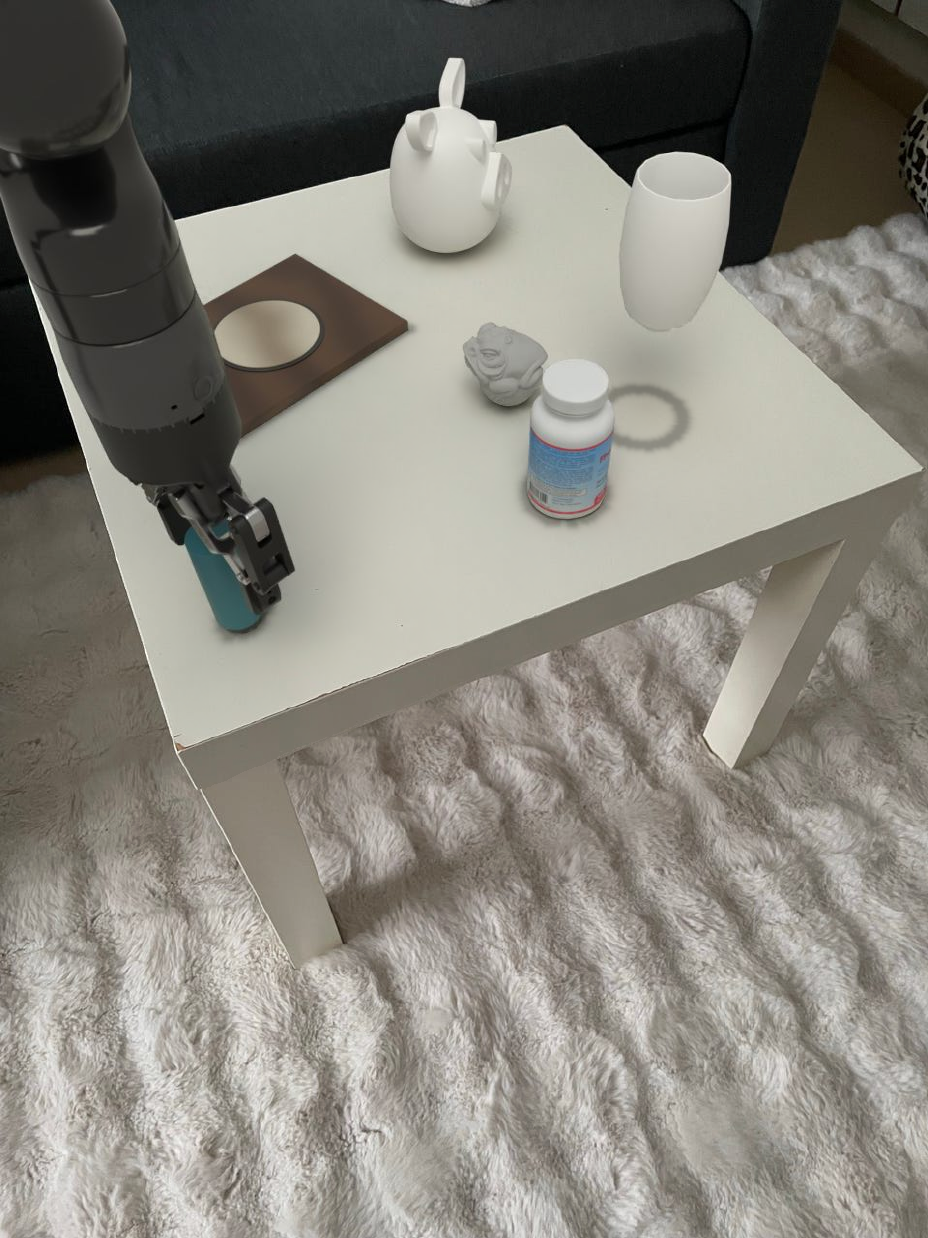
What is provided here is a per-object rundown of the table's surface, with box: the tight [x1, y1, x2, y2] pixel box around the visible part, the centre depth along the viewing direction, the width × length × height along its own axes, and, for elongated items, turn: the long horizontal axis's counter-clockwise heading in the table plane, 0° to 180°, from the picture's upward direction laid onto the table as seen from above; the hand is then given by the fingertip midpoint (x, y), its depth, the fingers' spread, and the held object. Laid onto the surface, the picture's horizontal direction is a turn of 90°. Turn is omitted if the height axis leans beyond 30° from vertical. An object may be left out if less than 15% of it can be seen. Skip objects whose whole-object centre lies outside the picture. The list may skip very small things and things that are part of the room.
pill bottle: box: [526, 358, 616, 520], centre depth 68 cm, size 6×6×11 cm
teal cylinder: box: [184, 518, 262, 634], centre depth 62 cm, size 3×3×9 cm
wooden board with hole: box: [203, 253, 409, 439], centre depth 84 cm, size 20×16×1 cm
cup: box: [618, 151, 732, 333], centre depth 69 cm, size 7×7×21 cm
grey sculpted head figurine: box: [462, 321, 549, 407], centre depth 76 cm, size 6×7×7 cm
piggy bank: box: [389, 57, 513, 254], centre depth 87 cm, size 12×12×15 cm
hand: (226, 570), depth 61 cm, fingers open, 8 cm apart
